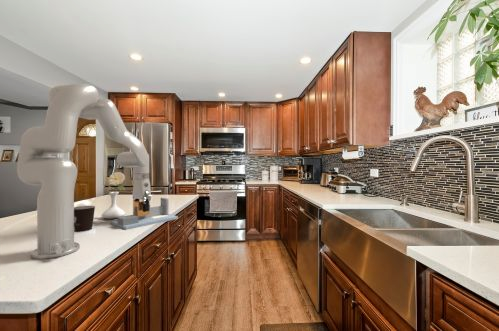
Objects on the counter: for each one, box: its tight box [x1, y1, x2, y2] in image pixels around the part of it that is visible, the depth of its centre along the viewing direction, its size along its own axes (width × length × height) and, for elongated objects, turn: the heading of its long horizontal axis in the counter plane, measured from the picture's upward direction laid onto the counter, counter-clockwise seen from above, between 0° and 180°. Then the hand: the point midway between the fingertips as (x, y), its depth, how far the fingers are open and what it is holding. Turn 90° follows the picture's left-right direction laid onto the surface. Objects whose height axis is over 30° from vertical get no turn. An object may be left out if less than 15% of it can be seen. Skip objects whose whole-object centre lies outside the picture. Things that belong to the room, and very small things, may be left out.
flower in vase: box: [101, 171, 126, 220], centre depth 128 cm, size 13×11×25 cm
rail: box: [110, 197, 179, 231], centre depth 121 cm, size 16×27×10 cm, turn 141°
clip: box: [132, 200, 151, 217], centre depth 121 cm, size 5×6×7 cm
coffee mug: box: [74, 205, 96, 233], centre depth 106 cm, size 12×9×10 cm
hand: (141, 210), depth 121 cm, fingers open, 9 cm apart
